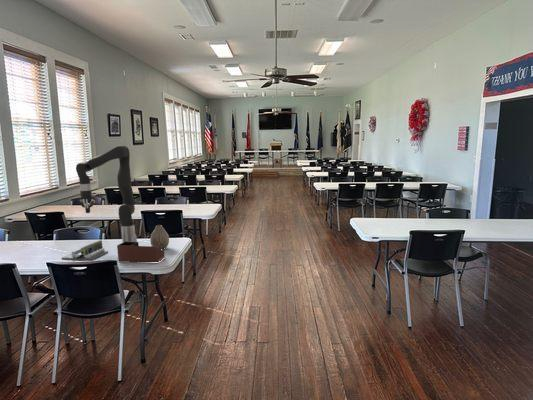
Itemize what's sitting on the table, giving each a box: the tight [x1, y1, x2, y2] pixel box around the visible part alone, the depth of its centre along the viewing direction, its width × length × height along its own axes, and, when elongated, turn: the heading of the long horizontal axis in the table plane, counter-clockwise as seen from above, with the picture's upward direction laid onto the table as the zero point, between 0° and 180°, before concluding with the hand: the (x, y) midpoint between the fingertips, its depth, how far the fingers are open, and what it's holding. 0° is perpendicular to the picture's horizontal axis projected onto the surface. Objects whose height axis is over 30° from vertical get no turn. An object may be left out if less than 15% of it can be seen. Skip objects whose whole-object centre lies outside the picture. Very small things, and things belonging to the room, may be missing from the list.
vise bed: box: [61, 247, 109, 261], centre depth 249 cm, size 22×18×3 cm
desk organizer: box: [116, 241, 166, 263], centre depth 237 cm, size 10×29×11 cm, turn 80°
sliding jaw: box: [71, 244, 88, 257], centre depth 249 cm, size 6×16×4 cm, turn 171°
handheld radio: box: [76, 240, 104, 259], centre depth 248 cm, size 7×3×25 cm
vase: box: [149, 224, 170, 250], centre depth 261 cm, size 13×13×18 cm
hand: (88, 212), depth 267 cm, fingers closed
